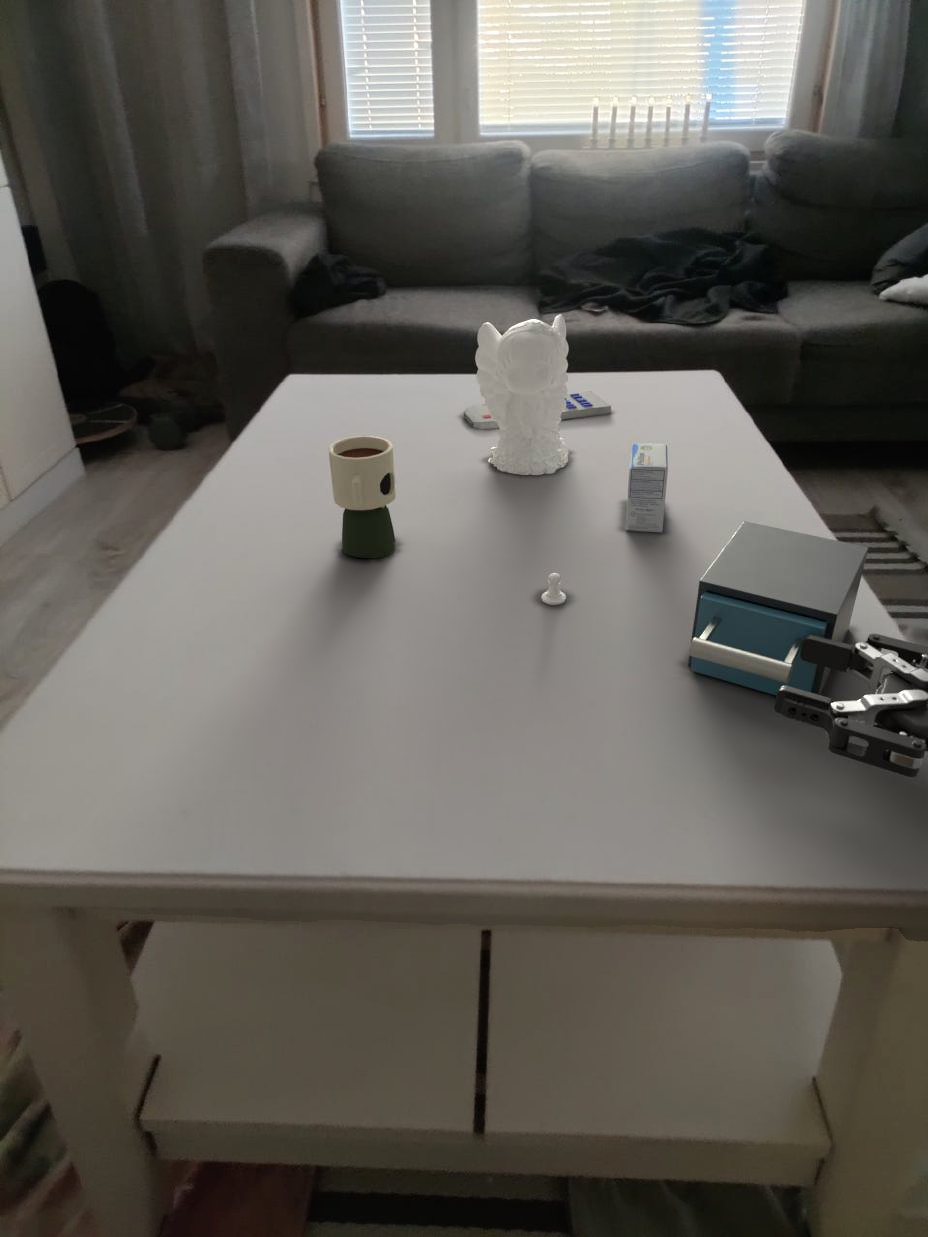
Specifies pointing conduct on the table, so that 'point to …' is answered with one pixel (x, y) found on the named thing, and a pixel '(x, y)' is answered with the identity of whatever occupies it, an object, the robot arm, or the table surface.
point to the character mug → (364, 494)
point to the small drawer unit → (789, 577)
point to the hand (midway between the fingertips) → (790, 671)
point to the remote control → (575, 408)
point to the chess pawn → (553, 591)
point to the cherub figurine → (525, 393)
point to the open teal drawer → (753, 644)
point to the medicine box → (647, 487)
